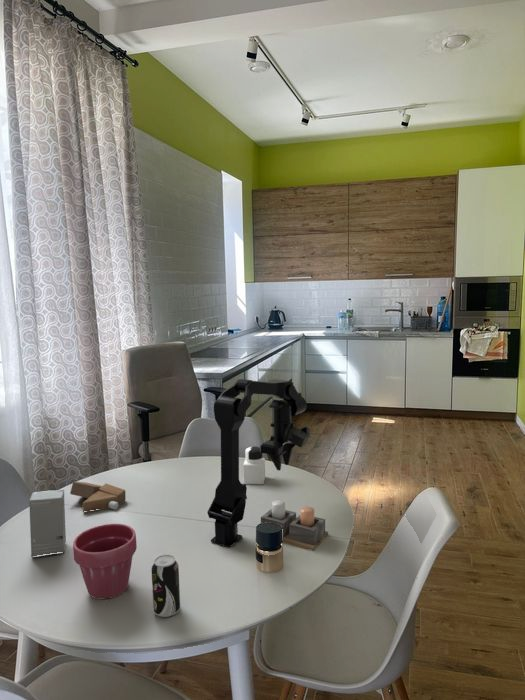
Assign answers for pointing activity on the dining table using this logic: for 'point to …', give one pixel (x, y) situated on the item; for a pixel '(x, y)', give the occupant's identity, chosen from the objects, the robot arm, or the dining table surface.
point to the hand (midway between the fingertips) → (282, 467)
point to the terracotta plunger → (307, 516)
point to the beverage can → (165, 586)
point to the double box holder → (299, 530)
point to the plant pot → (105, 558)
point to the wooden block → (98, 495)
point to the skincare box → (47, 522)
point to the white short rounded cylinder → (278, 509)
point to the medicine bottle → (253, 466)
